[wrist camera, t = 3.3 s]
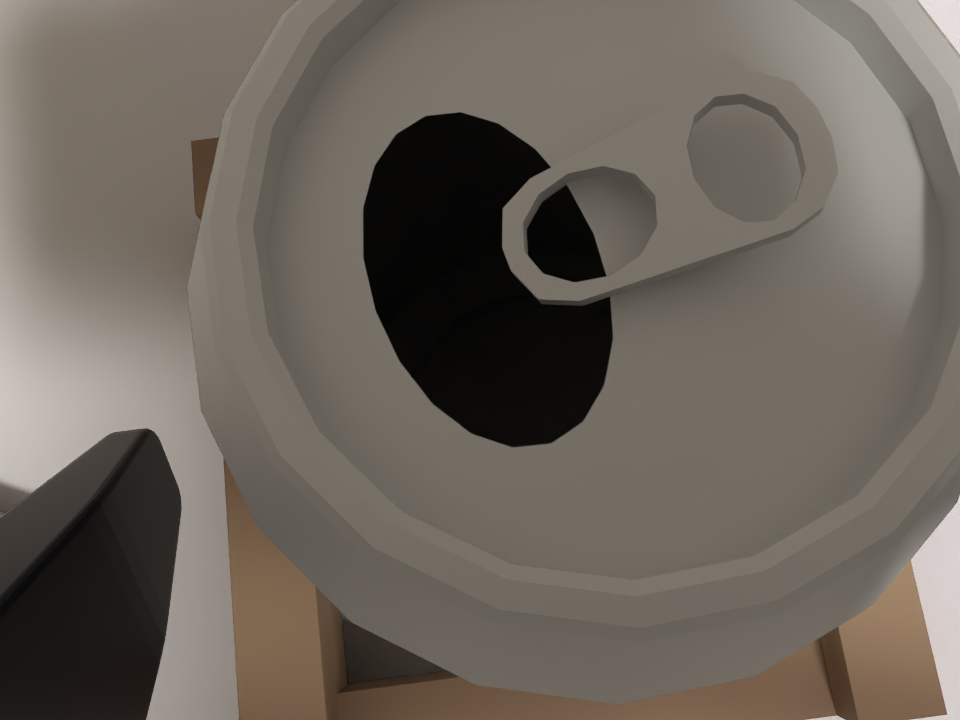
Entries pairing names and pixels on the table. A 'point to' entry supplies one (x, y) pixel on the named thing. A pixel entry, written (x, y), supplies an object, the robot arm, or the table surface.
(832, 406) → the can
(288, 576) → the brown square frame
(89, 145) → the table surface
